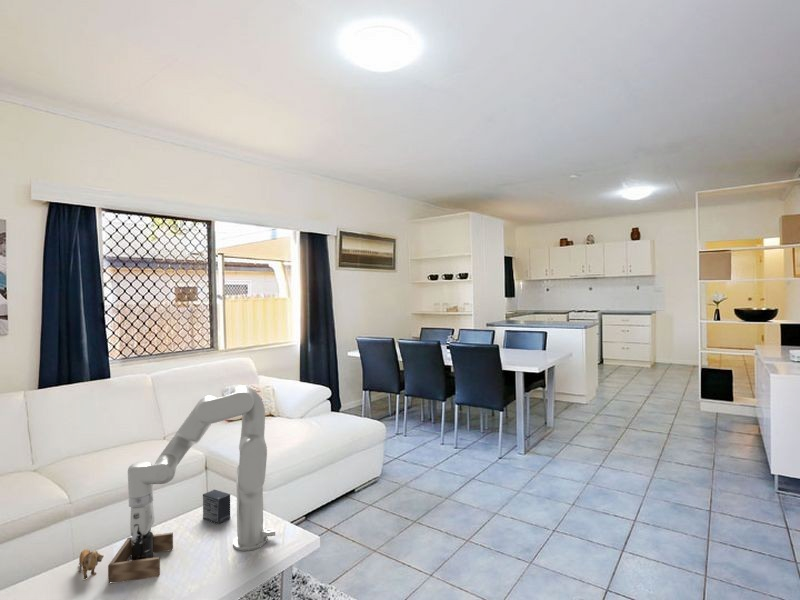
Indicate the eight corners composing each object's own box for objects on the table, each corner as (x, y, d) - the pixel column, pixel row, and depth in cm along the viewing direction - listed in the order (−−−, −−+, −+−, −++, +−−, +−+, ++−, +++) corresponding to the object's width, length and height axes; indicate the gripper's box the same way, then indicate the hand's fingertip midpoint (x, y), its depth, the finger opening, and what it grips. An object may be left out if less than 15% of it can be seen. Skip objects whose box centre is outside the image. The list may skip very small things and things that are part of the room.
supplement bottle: (143, 567, 152) (142, 532, 152) (126, 565, 154) (125, 531, 153) (158, 555, 159) (157, 522, 159) (142, 553, 160) (140, 521, 160)
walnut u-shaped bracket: (173, 548, 166) (172, 532, 166) (158, 576, 149) (158, 558, 149) (128, 554, 163) (128, 537, 163) (108, 583, 146) (108, 565, 146)
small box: (231, 518, 189) (231, 493, 189) (218, 524, 183) (218, 499, 183) (215, 512, 194) (215, 488, 194) (202, 518, 189) (201, 494, 189)
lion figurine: (105, 576, 150) (105, 549, 150) (87, 584, 146) (87, 557, 146) (87, 562, 159) (86, 536, 158) (69, 569, 154) (69, 543, 154)
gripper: (144, 508, 148) (145, 561, 149) (160, 487, 165) (161, 534, 166) (119, 511, 147) (121, 565, 147) (137, 489, 164) (139, 537, 164)
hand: (142, 548), depth 156 cm, fingers closed on supplement bottle, 6 cm apart
